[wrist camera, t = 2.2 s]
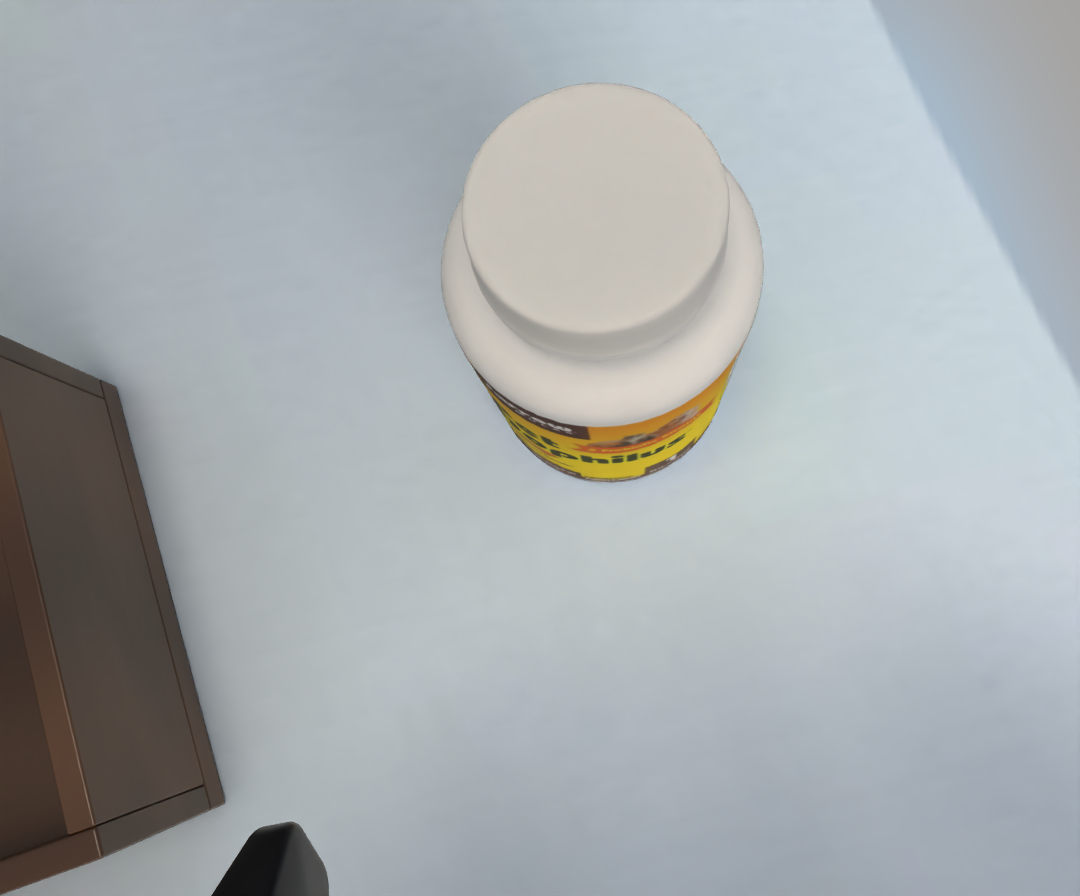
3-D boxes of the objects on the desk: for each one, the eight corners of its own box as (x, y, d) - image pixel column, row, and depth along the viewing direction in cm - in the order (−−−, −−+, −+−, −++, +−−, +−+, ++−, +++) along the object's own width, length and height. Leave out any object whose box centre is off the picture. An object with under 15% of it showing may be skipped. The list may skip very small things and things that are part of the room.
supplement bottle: (482, 467, 23) (366, 354, 13) (524, 261, 24) (445, 9, 14) (704, 506, 23) (757, 417, 13) (738, 292, 23) (814, 48, 13)
